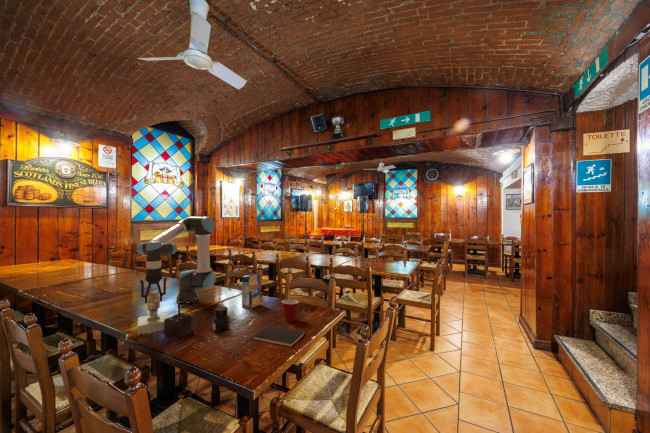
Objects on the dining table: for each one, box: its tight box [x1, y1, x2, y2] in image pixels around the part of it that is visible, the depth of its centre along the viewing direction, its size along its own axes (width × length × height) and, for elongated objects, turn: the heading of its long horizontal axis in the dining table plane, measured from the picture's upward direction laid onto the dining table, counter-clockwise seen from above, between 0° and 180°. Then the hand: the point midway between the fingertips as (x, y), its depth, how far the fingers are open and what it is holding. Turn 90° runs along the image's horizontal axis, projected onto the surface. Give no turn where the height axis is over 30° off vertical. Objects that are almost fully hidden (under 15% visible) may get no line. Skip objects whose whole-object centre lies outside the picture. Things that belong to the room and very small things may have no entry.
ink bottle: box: [212, 306, 231, 333], centre depth 157 cm, size 10×9×12 cm
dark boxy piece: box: [163, 297, 201, 339], centre depth 153 cm, size 16×11×18 cm
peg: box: [148, 290, 160, 319], centre depth 159 cm, size 5×5×15 cm
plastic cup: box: [281, 298, 300, 322], centre depth 173 cm, size 11×11×12 cm
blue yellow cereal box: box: [241, 273, 261, 310], centre depth 199 cm, size 7×11×22 cm, turn 152°
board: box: [136, 312, 170, 336], centre depth 159 cm, size 15×16×5 cm
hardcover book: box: [252, 325, 306, 347], centre depth 148 cm, size 16×23×2 cm
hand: (153, 307), depth 159 cm, fingers closed on peg, 5 cm apart
